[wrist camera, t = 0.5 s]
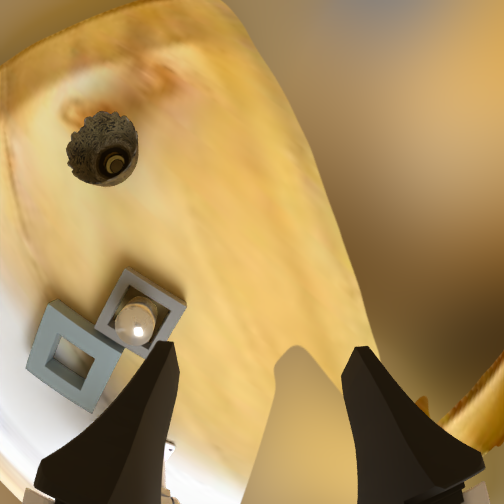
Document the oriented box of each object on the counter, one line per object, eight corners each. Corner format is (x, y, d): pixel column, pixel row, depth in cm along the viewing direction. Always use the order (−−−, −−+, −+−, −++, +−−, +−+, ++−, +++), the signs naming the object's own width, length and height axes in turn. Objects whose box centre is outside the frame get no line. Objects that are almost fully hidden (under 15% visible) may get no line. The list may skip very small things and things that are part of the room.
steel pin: (147, 334, 32) (142, 352, 26) (119, 317, 31) (108, 332, 25) (163, 307, 32) (160, 321, 26) (134, 289, 31) (125, 299, 25)
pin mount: (154, 355, 32) (153, 363, 29) (99, 321, 30) (93, 327, 28) (186, 302, 33) (186, 307, 30) (129, 266, 31) (124, 268, 28)
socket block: (96, 402, 30) (92, 413, 27) (34, 360, 28) (25, 368, 25) (125, 345, 31) (121, 353, 28) (57, 298, 29) (48, 303, 26)
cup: (116, 209, 30) (97, 199, 23) (77, 171, 29) (52, 153, 21) (158, 162, 31) (153, 139, 24) (119, 126, 30) (105, 97, 22)
